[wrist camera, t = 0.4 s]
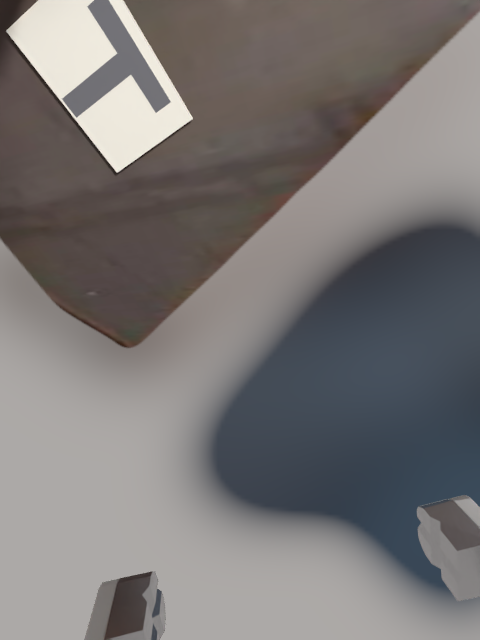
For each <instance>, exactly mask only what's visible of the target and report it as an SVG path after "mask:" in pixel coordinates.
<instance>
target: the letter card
mask: <svg viewBox="0 0 480 640" xmlns="http://www.w3.org/2000/svg"><path fill="white" fill-rule="evenodd" d="M6 32H7V33H8V34H9V36H10V37H11V38H12V39H13V41H14V42H15V43H16V45H17V46H18V47H19V48H20V50H21V51H22V52H23V53H24V55H25V56H26V57H27V59H28V60H29V61H30V62H31V64H32V65H33V66H34V68H35V69H36V70H37V71H38V73H39V74H40V75H41V76H42V78H43V79H44V80H45V82H46V83H47V84H48V85H49V87H50V88H51V89H52V91H53V92H54V93H55V94H56V96H57V97H58V98H59V99H60V101H61V102H62V103H63V105H64V106H65V107H66V108H67V110H68V111H69V112H70V114H71V115H72V116H73V117H74V119H75V120H76V121H77V122H78V124H79V125H80V126H81V128H82V129H83V130H84V131H85V133H86V134H87V135H88V137H89V138H90V139H91V140H92V142H93V143H94V144H95V145H96V147H97V148H98V149H99V151H100V152H101V153H102V154H103V156H104V157H105V158H106V160H107V161H108V162H109V163H110V165H111V166H112V167H113V169H114V170H115V171H116V172H117V173H118V172H119V171H120V170H122V169H123V168H125V167H126V166H127V165H129V164H130V163H132V162H133V161H134V160H136V159H137V158H139V157H140V156H141V155H143V154H144V153H146V152H147V151H148V150H150V149H151V148H153V147H154V146H155V145H157V144H158V143H160V142H161V141H162V140H164V139H165V138H167V137H168V136H170V135H171V134H172V133H174V132H175V131H177V130H178V129H179V128H181V127H182V126H184V125H185V124H186V123H188V122H189V121H191V120H192V119H193V118H192V116H191V114H190V112H189V111H188V109H187V107H186V106H185V104H184V102H183V101H182V99H181V97H180V96H179V94H178V92H177V90H176V89H175V87H174V85H173V84H172V82H171V80H170V79H169V77H168V75H167V74H166V72H165V70H164V68H163V67H162V65H161V63H160V62H159V60H158V58H157V57H156V55H155V53H154V52H153V50H152V48H151V46H150V45H149V43H148V41H147V40H146V38H145V36H144V35H143V33H142V31H141V30H140V28H139V26H138V24H137V23H136V21H135V19H134V18H133V16H132V14H131V13H130V11H129V9H128V8H127V6H126V4H125V2H124V1H123V0H38V1H37V2H36V3H35V4H34V5H33V6H32V7H31V8H30V9H29V10H28V11H27V12H25V13H24V14H23V15H22V16H21V17H20V18H19V19H18V20H17V21H16V22H15V23H14V24H13V25H12V26H11V27H10V28H8V29H7V30H6Z"/></svg>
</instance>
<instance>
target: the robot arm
mask: <svg viewBox="0 0 480 640" xmlns="http://www.w3.org/2000/svg"><path fill="white" fill-rule="evenodd" d="M417 517H418V519H419V520H420V521H421V524H420V526H419V527H418V537H419V540H420V543H421V546H422V548H423V550H424V552H425V554H426V556H427V557H428V559H429V560H430V562H431V563H432V564H433V565H435V566H437V567H438V568H440V569H441V573H442V579H443V581H444V582H445V584H446V585H447V586H448V588H449V589H450V591H451V592H452V594H453V595H454V596H455V598H456V599H457V601H462V600H466V599H471V598H475V597H480V507H479V506H478V505H477V504H476V503H475V502H474V501H473V500H472V499H471V498H470V497H468V496H466V495H463V496H459V497H455V498H451V499H446V500H442V501H438V502H434V503H430V504H427V505H423V506H419V507H418V509H417ZM157 585H158V579H157V576H156V573H155V572H148V573H143V574H138V575H134V576H130V577H124V578H120V579H116V580H111V581H107V582H103V583H102V584H101V586H100V588H99V590H98V593H97V597H96V600H95V604H94V608H93V611H92V614H91V618H90V622H89V625H88V629H87V632H86V636H85V640H160V638H161V636H162V635H163V633H164V631H165V620H166V619H165V603H164V597H163V594H162V591H160V590H159V589H157Z"/></svg>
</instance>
